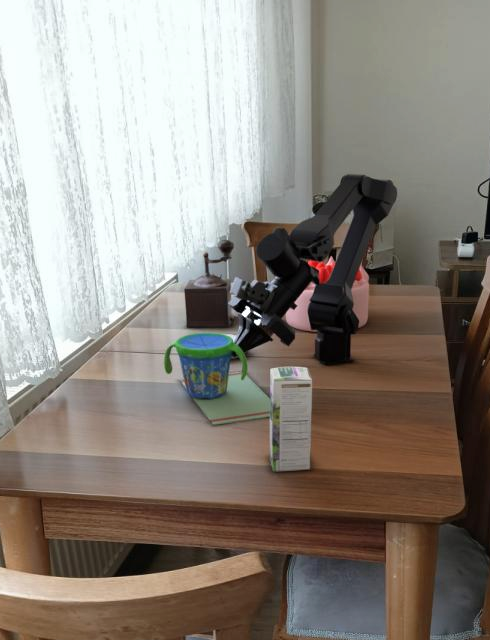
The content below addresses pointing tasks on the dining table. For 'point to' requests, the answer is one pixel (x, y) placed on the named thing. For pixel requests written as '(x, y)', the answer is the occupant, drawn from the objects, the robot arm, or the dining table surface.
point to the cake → (359, 288)
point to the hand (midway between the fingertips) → (231, 355)
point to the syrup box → (290, 418)
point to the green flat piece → (236, 402)
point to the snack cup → (205, 363)
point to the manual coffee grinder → (210, 295)
